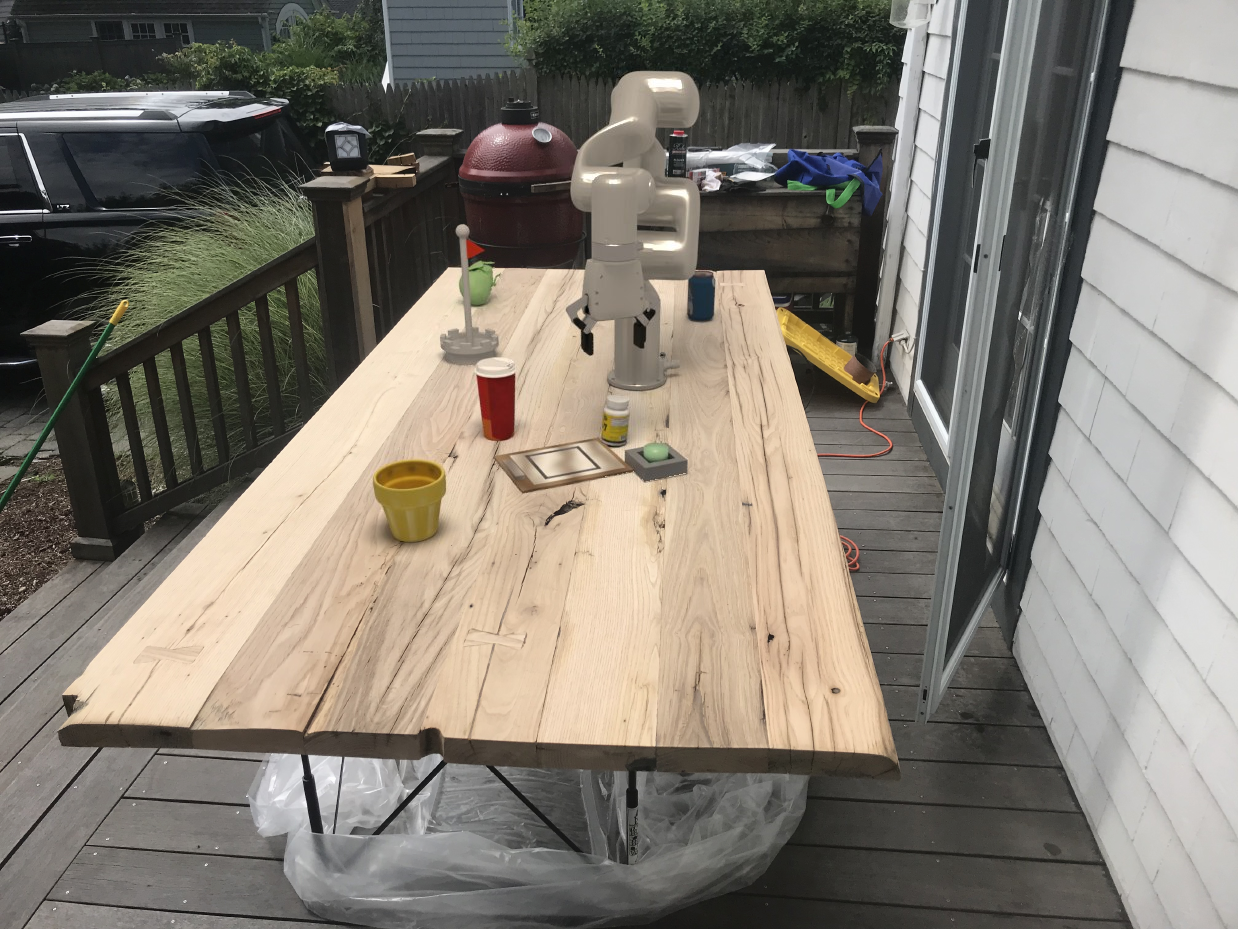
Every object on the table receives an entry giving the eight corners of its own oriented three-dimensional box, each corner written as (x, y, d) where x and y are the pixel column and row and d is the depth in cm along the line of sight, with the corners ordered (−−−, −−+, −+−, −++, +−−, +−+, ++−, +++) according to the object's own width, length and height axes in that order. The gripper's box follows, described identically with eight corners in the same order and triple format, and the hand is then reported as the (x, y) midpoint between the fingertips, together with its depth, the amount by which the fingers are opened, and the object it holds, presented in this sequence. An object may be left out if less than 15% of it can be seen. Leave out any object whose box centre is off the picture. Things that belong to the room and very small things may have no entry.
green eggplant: (499, 309, 252) (497, 268, 247) (457, 309, 252) (455, 268, 247) (505, 297, 263) (503, 257, 258) (465, 297, 263) (462, 257, 258)
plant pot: (416, 556, 136) (410, 495, 132) (364, 537, 141) (357, 478, 137) (463, 526, 144) (459, 468, 140) (413, 509, 149) (407, 453, 145)
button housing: (665, 456, 168) (666, 442, 167) (687, 473, 161) (687, 460, 160) (624, 463, 165) (624, 450, 164) (644, 482, 158) (645, 468, 157)
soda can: (718, 317, 246) (720, 272, 241) (705, 324, 240) (707, 277, 235) (694, 313, 249) (696, 268, 244) (681, 320, 244) (683, 273, 239)
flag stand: (430, 362, 213) (419, 227, 200) (460, 346, 224) (451, 216, 211) (481, 370, 208) (473, 232, 196) (509, 352, 219) (503, 221, 207)
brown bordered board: (598, 439, 174) (598, 433, 174) (633, 471, 162) (633, 465, 161) (493, 458, 167) (493, 451, 166) (522, 493, 154) (522, 486, 154)
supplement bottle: (600, 436, 175) (603, 392, 172) (625, 437, 175) (629, 394, 172) (601, 445, 170) (605, 401, 167) (627, 447, 171) (632, 403, 168)
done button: (661, 454, 165) (661, 440, 164) (672, 464, 161) (672, 450, 160) (639, 458, 163) (639, 445, 162) (650, 468, 160) (650, 454, 159)
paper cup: (526, 430, 178) (523, 359, 172) (509, 445, 172) (505, 372, 166) (488, 424, 180) (484, 354, 174) (470, 439, 174) (465, 367, 168)
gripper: (650, 243, 164) (648, 338, 172) (557, 251, 158) (559, 350, 165) (670, 251, 158) (667, 350, 165) (574, 260, 152) (575, 362, 159)
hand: (613, 349), depth 165 cm, fingers open, 9 cm apart
